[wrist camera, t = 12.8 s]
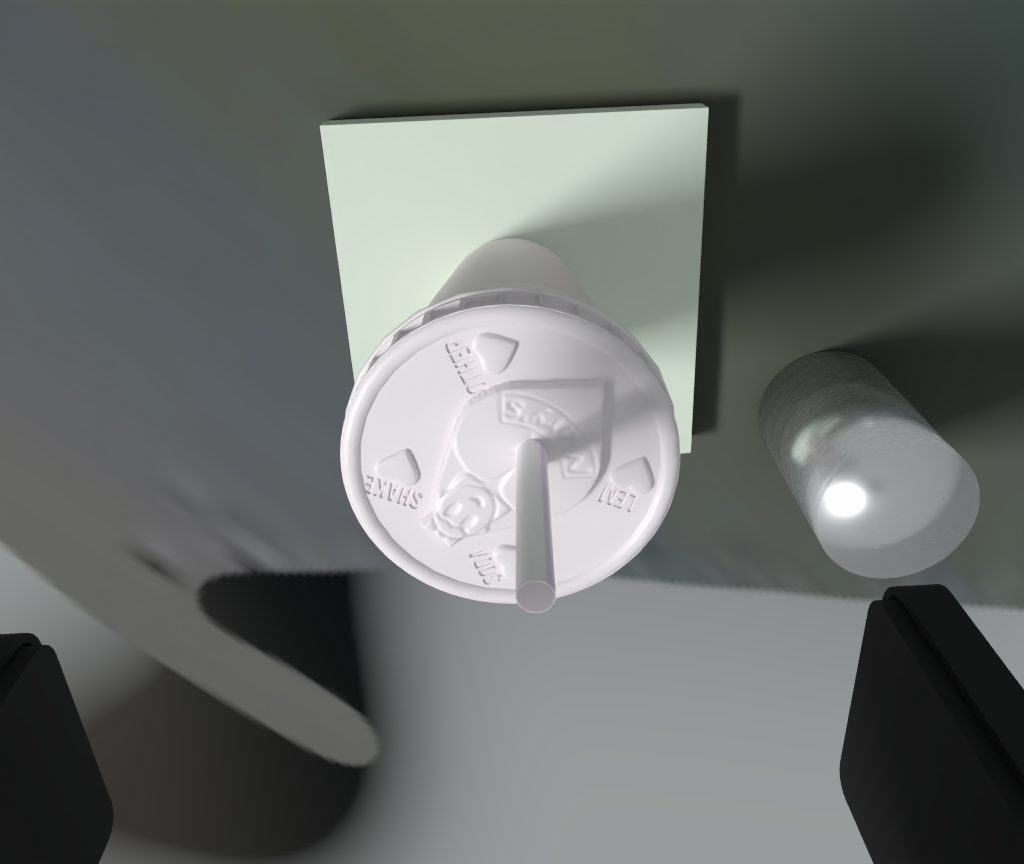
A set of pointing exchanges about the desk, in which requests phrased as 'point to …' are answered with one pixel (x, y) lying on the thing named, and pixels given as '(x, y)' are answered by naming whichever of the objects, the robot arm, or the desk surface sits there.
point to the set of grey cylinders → (866, 466)
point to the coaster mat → (527, 215)
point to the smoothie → (510, 435)
